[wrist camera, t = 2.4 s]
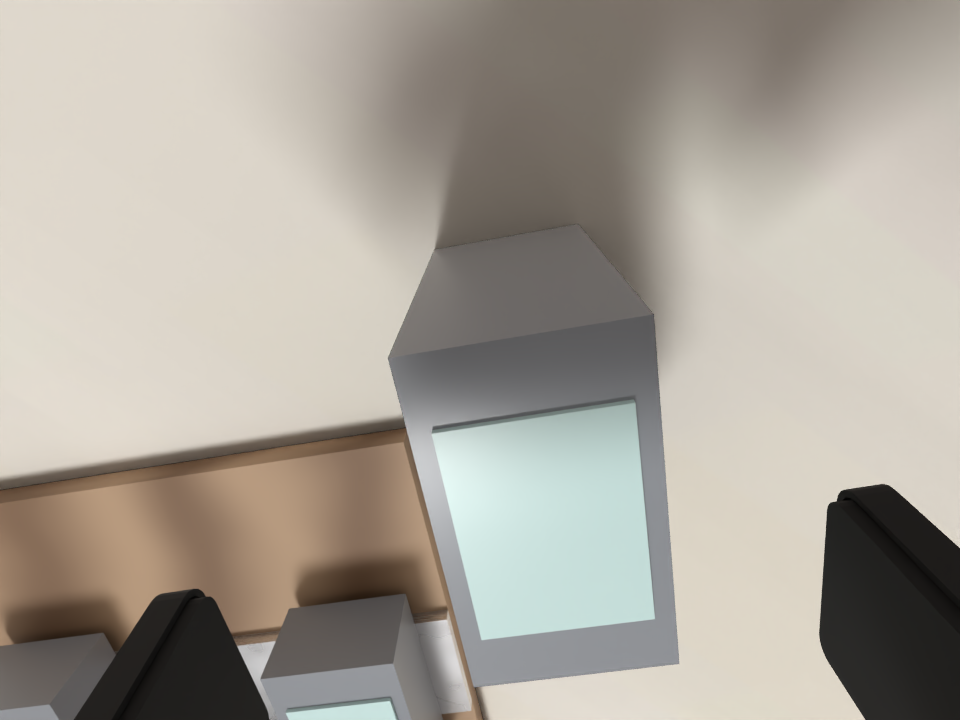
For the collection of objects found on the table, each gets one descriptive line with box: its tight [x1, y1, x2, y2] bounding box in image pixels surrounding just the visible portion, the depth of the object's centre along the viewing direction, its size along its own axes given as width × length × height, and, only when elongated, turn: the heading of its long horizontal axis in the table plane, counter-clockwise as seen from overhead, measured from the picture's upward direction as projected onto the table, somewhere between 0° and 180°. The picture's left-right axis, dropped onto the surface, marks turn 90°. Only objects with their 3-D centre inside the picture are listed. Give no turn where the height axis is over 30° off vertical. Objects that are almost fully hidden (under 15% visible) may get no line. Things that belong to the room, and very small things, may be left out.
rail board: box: [0, 428, 483, 720], centre depth 23 cm, size 19×20×5 cm
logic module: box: [388, 224, 679, 687], centre depth 15 cm, size 4×8×9 cm, turn 10°
